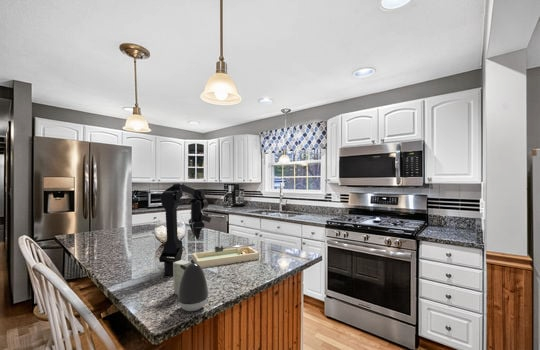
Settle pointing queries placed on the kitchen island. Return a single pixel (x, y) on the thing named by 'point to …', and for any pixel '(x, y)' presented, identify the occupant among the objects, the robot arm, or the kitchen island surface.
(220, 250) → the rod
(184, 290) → the pump dispenser
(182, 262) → the skincare box
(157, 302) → the kitchen island surface
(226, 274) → the kitchen island surface
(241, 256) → the tray
